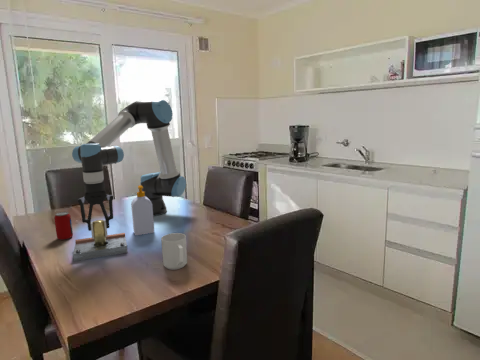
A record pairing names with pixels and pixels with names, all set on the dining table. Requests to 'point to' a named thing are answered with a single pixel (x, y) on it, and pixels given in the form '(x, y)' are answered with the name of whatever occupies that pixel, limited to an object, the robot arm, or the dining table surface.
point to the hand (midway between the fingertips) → (99, 236)
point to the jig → (100, 247)
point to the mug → (174, 250)
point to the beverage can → (63, 225)
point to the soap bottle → (142, 214)
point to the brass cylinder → (99, 233)
